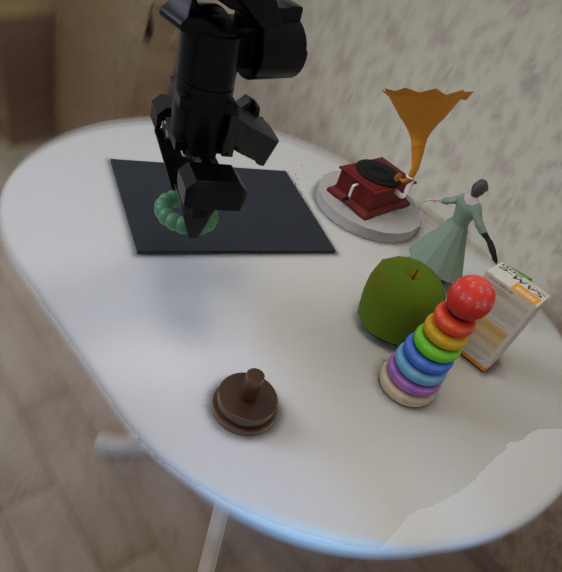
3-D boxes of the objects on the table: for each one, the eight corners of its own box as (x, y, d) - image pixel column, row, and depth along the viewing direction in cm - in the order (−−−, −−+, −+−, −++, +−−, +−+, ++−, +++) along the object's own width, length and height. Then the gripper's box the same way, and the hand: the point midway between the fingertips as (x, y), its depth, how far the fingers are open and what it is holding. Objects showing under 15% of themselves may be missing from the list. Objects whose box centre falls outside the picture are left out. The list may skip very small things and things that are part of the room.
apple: (430, 355, 74) (470, 299, 66) (364, 352, 71) (397, 293, 63) (404, 302, 81) (438, 246, 73) (342, 297, 78) (370, 238, 70)
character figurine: (479, 300, 87) (547, 208, 74) (454, 315, 82) (522, 219, 69) (411, 245, 93) (462, 151, 80) (383, 256, 88) (433, 157, 75)
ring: (160, 238, 58) (161, 223, 56) (147, 199, 62) (149, 184, 60) (224, 239, 61) (227, 225, 59) (208, 202, 65) (211, 187, 63)
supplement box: (497, 360, 78) (553, 296, 68) (482, 373, 75) (539, 307, 65) (455, 326, 80) (503, 259, 71) (439, 337, 78) (487, 269, 68)
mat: (137, 253, 72) (137, 251, 71) (110, 161, 85) (110, 158, 84) (334, 253, 85) (335, 250, 84) (285, 173, 98) (285, 170, 98)
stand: (221, 440, 55) (232, 408, 51) (203, 386, 60) (212, 351, 55) (285, 430, 59) (300, 398, 54) (263, 379, 63) (276, 346, 58)
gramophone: (436, 228, 100) (512, 96, 81) (371, 253, 88) (444, 105, 69) (362, 172, 107) (416, 39, 89) (293, 188, 95) (340, 38, 77)
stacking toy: (365, 381, 67) (434, 269, 54) (395, 354, 72) (465, 246, 59) (414, 420, 65) (498, 313, 51) (441, 390, 70) (524, 285, 56)
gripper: (313, 136, 48) (272, 268, 59) (254, 52, 58) (229, 178, 69) (196, 124, 43) (176, 269, 55) (155, 35, 54) (145, 172, 65)
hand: (185, 217), depth 61 cm, fingers closed on ring, 7 cm apart
